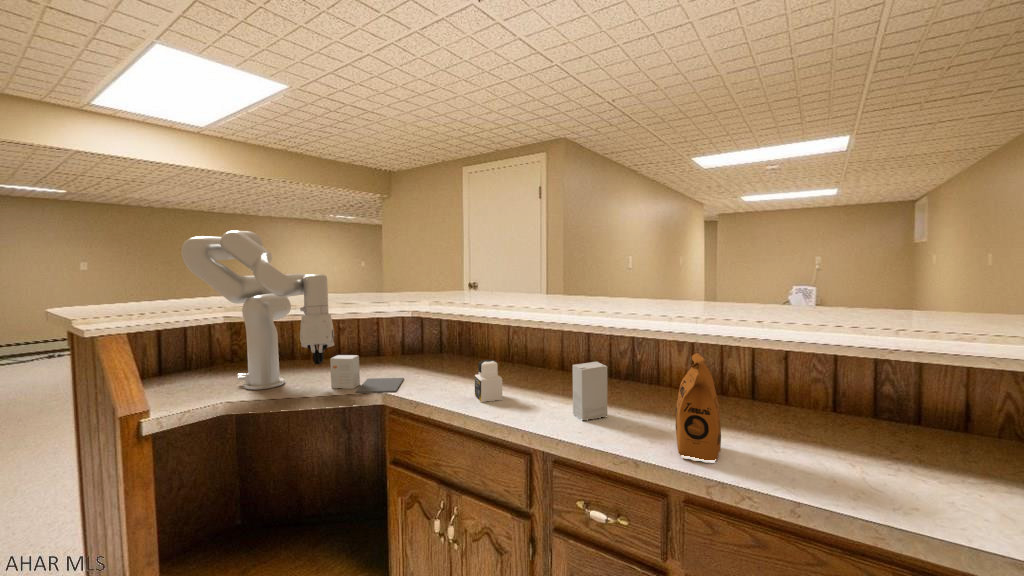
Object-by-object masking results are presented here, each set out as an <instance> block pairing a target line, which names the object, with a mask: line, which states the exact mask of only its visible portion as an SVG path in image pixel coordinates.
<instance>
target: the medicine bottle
mask: <svg viewBox="0 0 1024 576" xmlns="http://www.w3.org/2000/svg"><path fill="white" fill-rule="evenodd" d="M498 365H499V363H498V362H497V360H494V359H483V360H480V361H479V362H478V374H475V375H474V397H475V398H476V399H477V400H478V401H479V403H487V402H486V401H490V402H496V401H495V400H499V401H503V378H502V377H501V376H500V375H499V373H498V372H499V369H498V368H499V366H498Z"/></svg>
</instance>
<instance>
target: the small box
mask: <svg viewBox="0 0 1024 576" xmlns="http://www.w3.org/2000/svg"><path fill="white" fill-rule="evenodd" d="M329 362H330V363H329V364H330V384H331V385H330V386H331V389H337V388H343V389H344V390H347V389H350V390H351V389H356V388H357V387H358V386H359V385H360V384H361V377H360V374H361V373H360V356H359V355H357V354H356V355H355V354H337V355H335V356H332V357H331V358H329ZM343 389H342V390H343Z"/></svg>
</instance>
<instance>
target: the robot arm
mask: <svg viewBox="0 0 1024 576" xmlns="http://www.w3.org/2000/svg"><path fill="white" fill-rule="evenodd" d="M181 257H182V261H183V263H184V265H185V266H186V268H187V269H188V270H189V271H190V272H191V273H192V274H193V275H194V276H196V277H197V278H198V279H200V280H202V281H203V282H204V283H205V284H207V285H208V286H209V287H210V288H211V289H213V290H214V291H216V292H217V294H219V295H221V296H222V297H223V298H225V299H226V300H227V301H228V302H230V303H232V304H242V308H241V314H242V317H243V318H242V319H243V322H244V325H245V326H244V327H245V331H246V332H245V333H246V346H247V347H246V351H247V373H237V376H236V377H237V378H236V379H237V381H245V382H244V383H243V388H244V389H246V390H252V391H253V390H254V391H255V390H267V389H273V388H276V387H279V386H282V385H283V384H285V379H284V378H283V377H280V361H279V357H280V356H279V335H278V329H277V326H276V325H275V322H274V321H275V320H280V319H283V318H285V317H286V316H288V315H289V313H290V312H291V309H292V305H291V301H290V299H289V298H290V297H295V296H296V297H297V296H302V295H303V302H304V305H303V306H302V307H300V309H299V310H300V312H303V314H302V315H301V319H300V327H299V328H300V329H299V341H300V344H301V347H302V348H307V349H308V350H309V351H310V352H311V353H312V361H313V362H314V365H315V366H316V365H321V364H322V363H323V362H324V360H325V358H324V352H325V350H326V349H328V348H331V347H333V346H335V341H334V340H335V331H334V324H333V319H332V315H331V313H329V293H328V291H329V290H328V286H329V285H328V277H327V275H325V274H322V273H317V274H316V273H314V274H313V273H311V274H309V273H308V274H305V273H286V274H284V273H283V272H282V271H280V270H278V269H277V268H275V267H274V266H273V265H272V264H271V262H272V260H273V254H272V252H271V251H269V250H268V249H266V248H265V247H264V246H263V240H262V238H261V237H260V236H259V234H257V233H256V232H253V231H248V230H228V231H227V232H224V233H223V234H222V235H221V236H209V235H208V236H207V235H206V236H205V235H201V236H200V235H199V236H197V235H196V236H194V237H190V238H188V239H186V240H185V241H184V242H183V244H182V246H181ZM234 259H235V260H237V261H238V262H239V263H241V264H242V265H244V266H245V267H246V268H248V269H249V270H251V271H252V274H253V275H240V274H238V273H236V272H235V271H234V270H232V269H231V268H230V267H228V266H227V265H225V264H223V263H221V262H219V261H229V260H234ZM288 297H289V298H288Z"/></svg>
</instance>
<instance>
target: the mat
mask: <svg viewBox="0 0 1024 576" xmlns="http://www.w3.org/2000/svg"><path fill="white" fill-rule="evenodd" d="M404 380H405V378H404V377H385V378H384V377H379V378H377V377H376V378H375V377H374V378H370V377H369V378H367V379H366V380H365V381H364V382H363V383H362V384H361V385H360V386H359V387H358V389H356V391H355V393H356V394H362V393H363V394H365V393H366V394H369V393H375V394H376V393H397V391H398V390H399V388H400V386H401V385H400V384H402V383H403V381H404ZM398 387H399V388H398Z"/></svg>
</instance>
